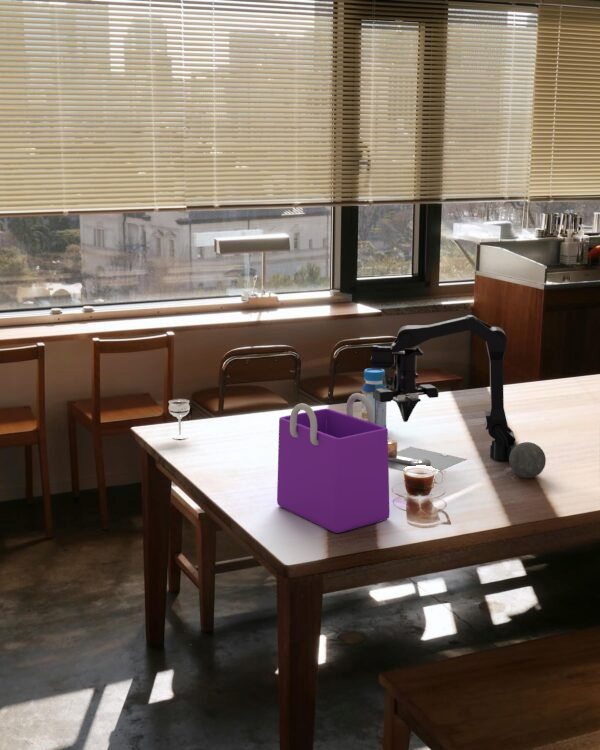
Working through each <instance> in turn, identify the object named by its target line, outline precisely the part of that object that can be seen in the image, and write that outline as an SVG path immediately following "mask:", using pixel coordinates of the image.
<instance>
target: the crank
mask: <svg viewBox="0 0 600 750" xmlns="http://www.w3.org/2000/svg"><path fill="white" fill-rule="evenodd" d="M397 452H398V442H397V441H394V440H388V460H390V461H395V462H400V463H405V464H410V466H416V465H426V466H431V461H429V460H427V459H411V458H406V457H401V456H397Z"/></svg>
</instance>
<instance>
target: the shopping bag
mask: <svg viewBox="0 0 600 750" xmlns="http://www.w3.org/2000/svg"><path fill="white" fill-rule="evenodd" d="M356 400H358V401H360V402H361V403H362V402H363V404H364V405H365V407H366V410H367V418H368V421H365V420H362V418H359V417H355V416H354V403H355V401H356ZM345 409H346V413H343V412H340V411H337V410H335V409H331V408H321V409H315V410H313V409H312V407H311V406H310V405H308V404H307V403H303V402H302V403H298V404H296V405H294V407H293V408H292V410H291V413H290V415H284V416H281V417H279V418H278V419H279V420H278V443H277V444H278V446H277V447H278V449H277V451H278V452H277V453H278V454H277V455H278V456H277V486H276V487H277V488H276V489H277V490H276V503H277V505H278V506H279V507H281V508H282V509H284V510H286V511H289V512H291V513H293V514H295V515H297V516H299V517H301V518H303V519H305V520H308V521H309V522H311V523H314V524H316V525H318V526H320V527H322V528H323V529H326V530H328V531H330V532H332V533H336V534H340V533H343V532H344V533H345V532H348V531H351V530H353V529H357V528H362V527H366V526H368V525H369V526H370V525H372V524H375V523H379V522H383V521H386V520H388V519H389V518H390V481H389V479H390V475H389V467H388V441H389V438H388V437H389V434H388V432H389V431H388V427H387V426H386V427H383V426H380V425H377V424H374V412H373V407H372V405H371V403H370V401H369V400H368V398H367V397H366V396H364V395H363V393H359V392H355V393H352V394H351V395H350V396H349V397H348V398H347V402H346V408H345ZM301 411H303V412H301Z"/></svg>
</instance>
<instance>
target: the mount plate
mask: <svg viewBox="0 0 600 750" xmlns="http://www.w3.org/2000/svg"><path fill="white" fill-rule="evenodd" d="M397 456H401V457H406V458H411V459H427V460H429V461H431V466H432V467H433V468H435V469H438V470H440V471H439V472H441V471H443V470H445V469H448V468H450V467H453V466H455V465H457V464H459V463H461V462H465V461H466V460H467V458H464V457H458V456H454V455H451V454H450V455H449V454H447V453H441V452H437V451H432V450H428V449H422V448H419V447H414V446H409V447H406V448H404V449H401V450H397ZM407 466H410V464H405V463H400V462H395V461H390V460H388V467H389V468H390V469H392V470H398V471H402V472H404V471H403V469H404V468H405V467H407Z"/></svg>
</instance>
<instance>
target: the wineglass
mask: <svg viewBox="0 0 600 750" xmlns="http://www.w3.org/2000/svg"><path fill="white" fill-rule="evenodd" d="M189 403H190V400H189V399H185V398H174V399H171V400H168V404H169V405H168V412H169V414H170V415H172V416H173V417H176V419H177V420H178V432H179V434H178V436H179V435H181V433H182V432H181V431H182V430H181V429H182V428H181V427H182V425H181V423H182V421H181V420H182V419H183V417H185V416H187V415H188V414H189V413H190V408H191V406H190V404H189Z"/></svg>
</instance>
